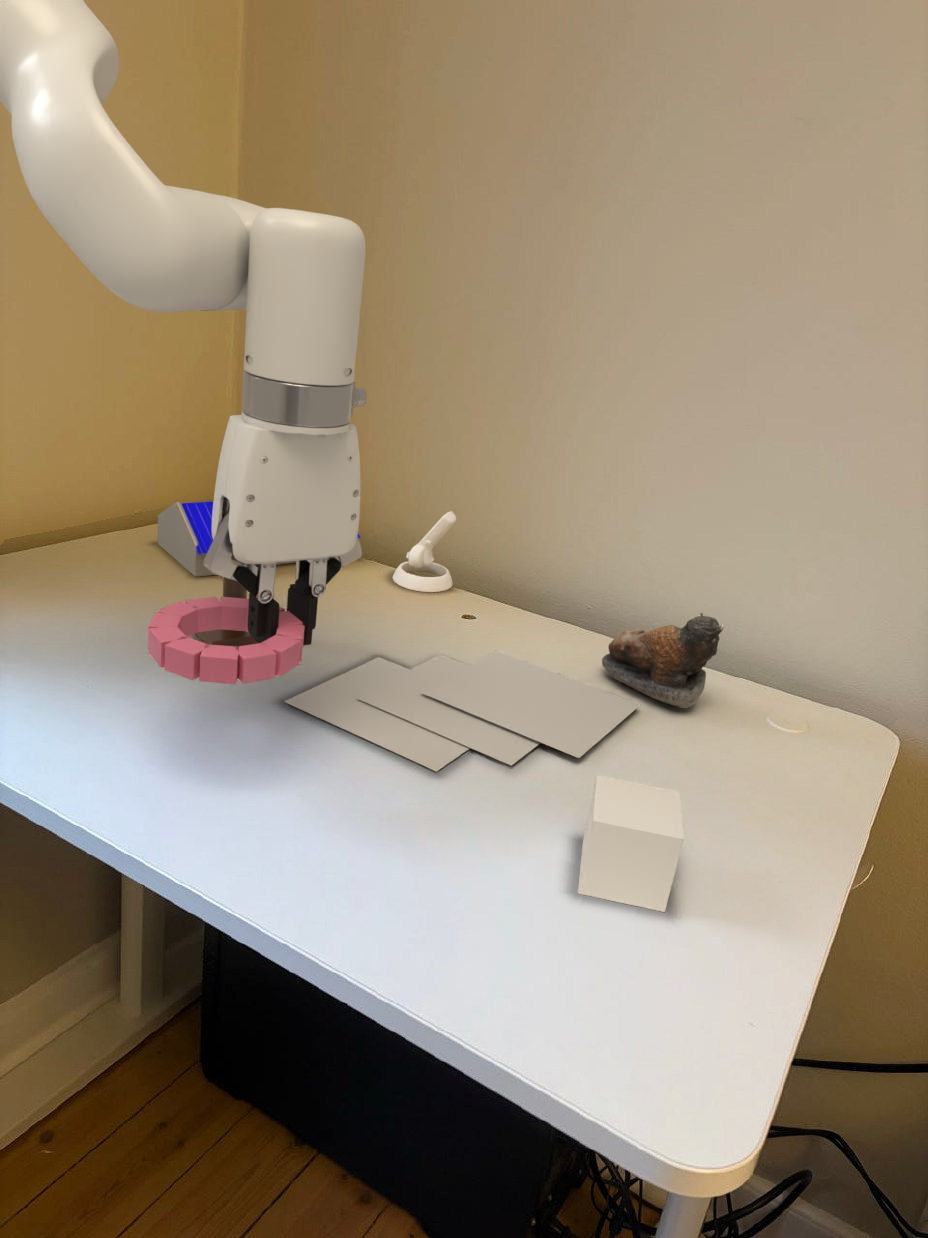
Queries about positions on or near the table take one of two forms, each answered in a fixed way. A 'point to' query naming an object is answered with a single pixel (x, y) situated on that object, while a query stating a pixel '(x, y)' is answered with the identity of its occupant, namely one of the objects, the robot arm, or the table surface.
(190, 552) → the roof
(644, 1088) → the table surface
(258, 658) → the ring
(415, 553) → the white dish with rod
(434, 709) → the paper stack
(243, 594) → the stand
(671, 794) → the off-white cube
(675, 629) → the bison figurine
